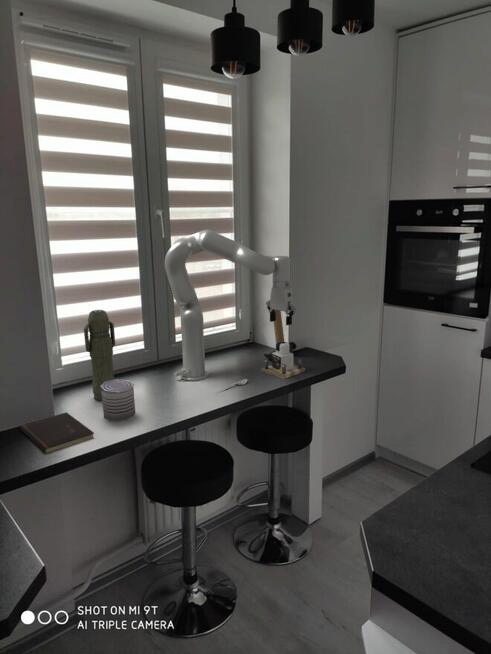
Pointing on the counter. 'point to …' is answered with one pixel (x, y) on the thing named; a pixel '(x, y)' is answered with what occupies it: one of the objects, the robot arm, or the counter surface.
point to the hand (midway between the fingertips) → (280, 323)
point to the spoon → (233, 384)
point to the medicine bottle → (282, 357)
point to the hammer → (280, 334)
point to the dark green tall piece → (100, 349)
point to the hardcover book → (56, 432)
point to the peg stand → (283, 370)
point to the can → (118, 400)
